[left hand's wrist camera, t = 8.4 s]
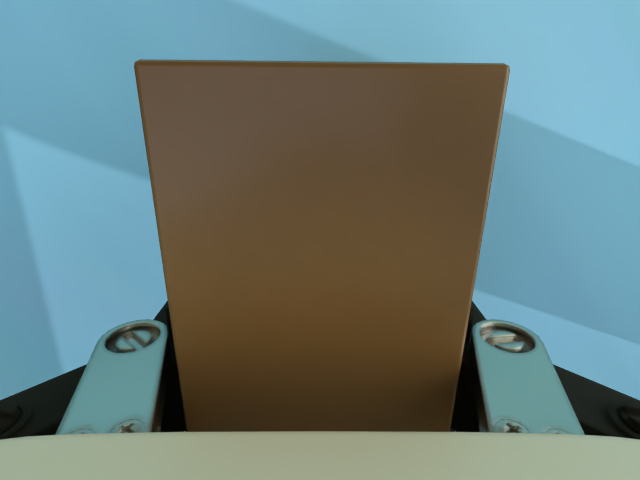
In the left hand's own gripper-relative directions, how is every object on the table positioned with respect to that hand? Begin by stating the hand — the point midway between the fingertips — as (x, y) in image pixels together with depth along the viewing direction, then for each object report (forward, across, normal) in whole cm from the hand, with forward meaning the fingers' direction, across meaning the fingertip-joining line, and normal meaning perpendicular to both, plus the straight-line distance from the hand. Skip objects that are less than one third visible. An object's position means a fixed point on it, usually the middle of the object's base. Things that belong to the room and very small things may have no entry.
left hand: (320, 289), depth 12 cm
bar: (+3, 0, -33) cm, 33 cm away
